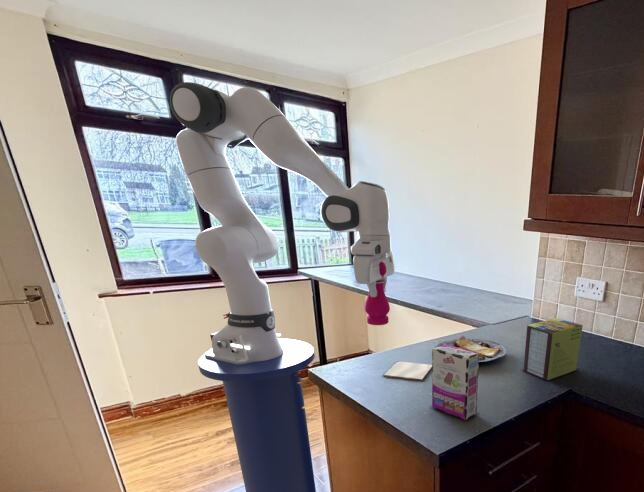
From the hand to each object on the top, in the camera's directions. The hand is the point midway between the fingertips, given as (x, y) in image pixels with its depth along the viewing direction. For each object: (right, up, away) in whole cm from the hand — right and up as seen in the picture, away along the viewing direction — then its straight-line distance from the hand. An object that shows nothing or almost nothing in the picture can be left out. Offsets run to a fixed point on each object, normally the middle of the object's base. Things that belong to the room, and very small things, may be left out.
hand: (378, 294), depth 118 cm
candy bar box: (+23, -33, -15) cm, 43 cm away
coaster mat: (+8, -22, +8) cm, 25 cm away
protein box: (+53, -22, +14) cm, 59 cm away
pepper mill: (-1, -8, +3) cm, 9 cm away
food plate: (+26, -17, +24) cm, 40 cm away
